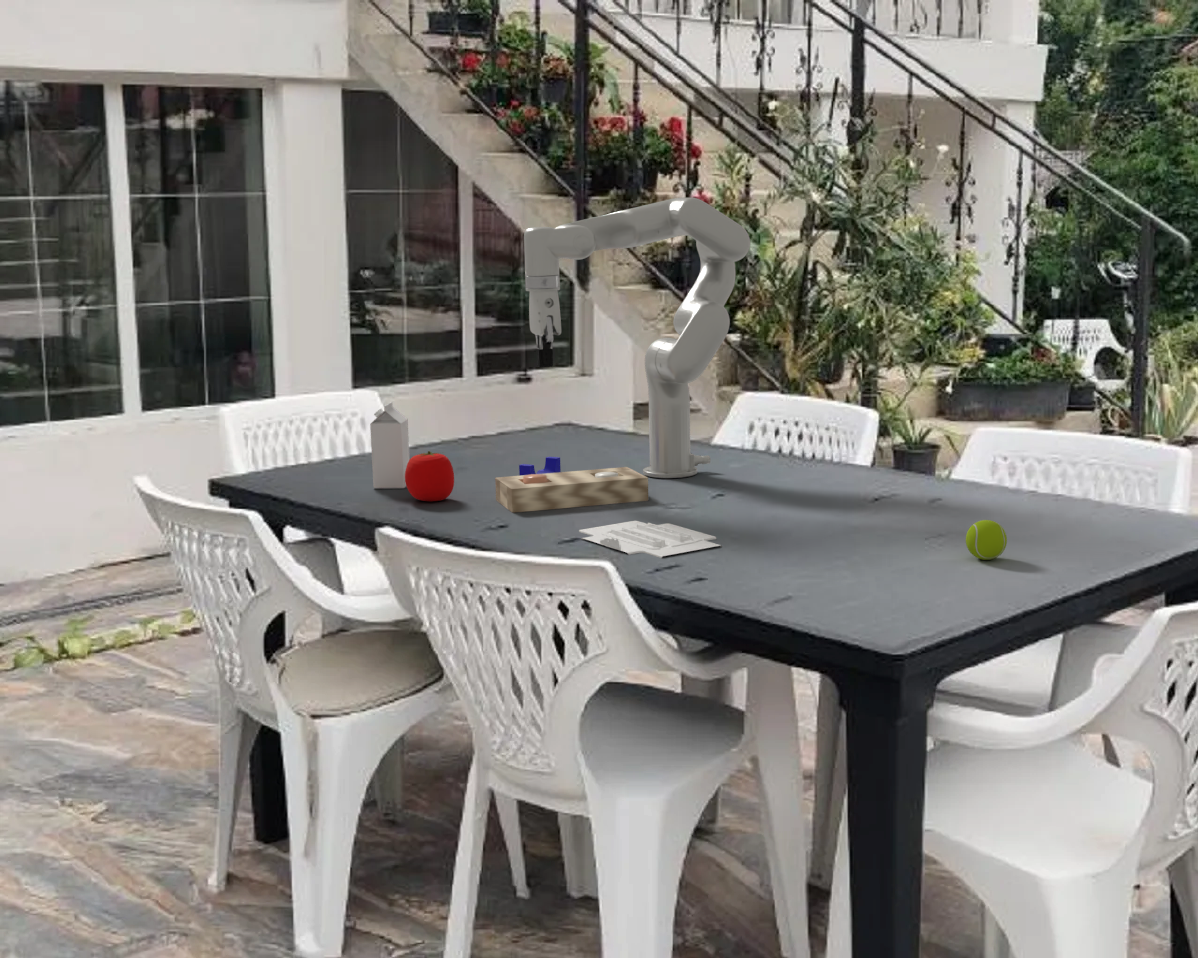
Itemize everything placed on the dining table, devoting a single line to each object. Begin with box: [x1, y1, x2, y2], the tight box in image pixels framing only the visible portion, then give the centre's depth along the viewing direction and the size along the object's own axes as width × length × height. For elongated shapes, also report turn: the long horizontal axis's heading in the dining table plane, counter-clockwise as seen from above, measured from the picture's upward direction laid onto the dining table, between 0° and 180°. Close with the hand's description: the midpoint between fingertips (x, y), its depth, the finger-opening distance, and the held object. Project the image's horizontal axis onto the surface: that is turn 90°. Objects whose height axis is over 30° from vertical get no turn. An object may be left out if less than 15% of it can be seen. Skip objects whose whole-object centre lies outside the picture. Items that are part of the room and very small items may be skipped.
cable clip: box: [518, 456, 562, 476], centre depth 343 cm, size 12×4×6 cm, turn 148°
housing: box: [494, 466, 649, 513], centre depth 327 cm, size 30×14×5 cm, turn 108°
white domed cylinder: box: [595, 472, 618, 478], centre depth 329 cm, size 5×5×5 cm
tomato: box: [405, 450, 455, 502], centre depth 330 cm, size 10×11×11 cm
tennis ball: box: [965, 519, 1008, 561], centre depth 267 cm, size 7×7×7 cm
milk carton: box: [369, 401, 411, 489], centre depth 347 cm, size 7×7×19 cm
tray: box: [578, 520, 723, 559], centre depth 289 cm, size 20×28×4 cm
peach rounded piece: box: [523, 474, 547, 484], centre depth 324 cm, size 5×5×5 cm
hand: (545, 366), depth 339 cm, fingers closed
